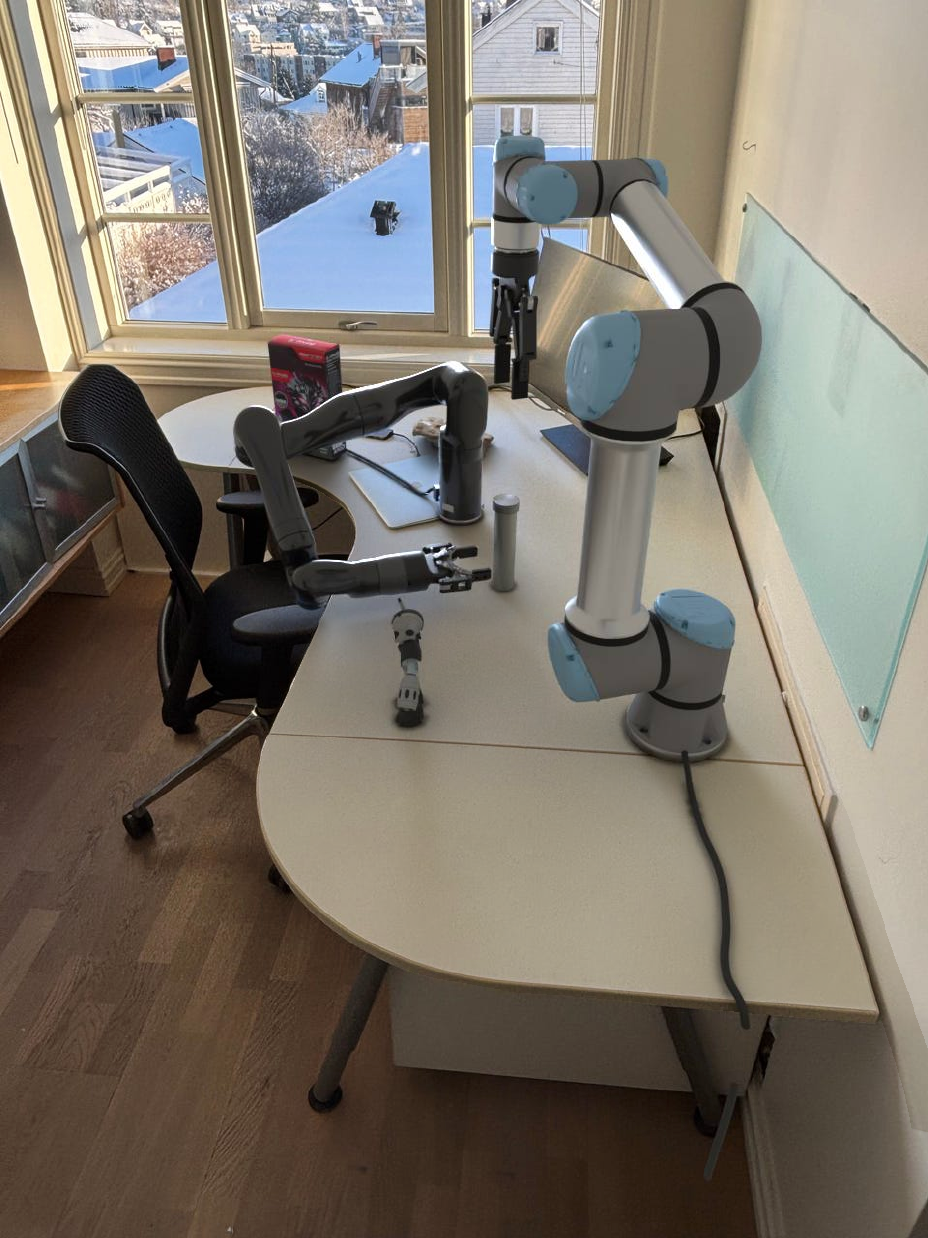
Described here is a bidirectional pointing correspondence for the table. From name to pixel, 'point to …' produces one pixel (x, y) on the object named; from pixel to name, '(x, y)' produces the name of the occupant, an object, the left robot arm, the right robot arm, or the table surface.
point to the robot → (409, 665)
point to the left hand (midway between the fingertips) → (484, 561)
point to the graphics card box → (305, 380)
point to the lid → (506, 504)
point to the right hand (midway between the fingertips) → (510, 389)
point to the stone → (431, 431)
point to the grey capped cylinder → (504, 551)
